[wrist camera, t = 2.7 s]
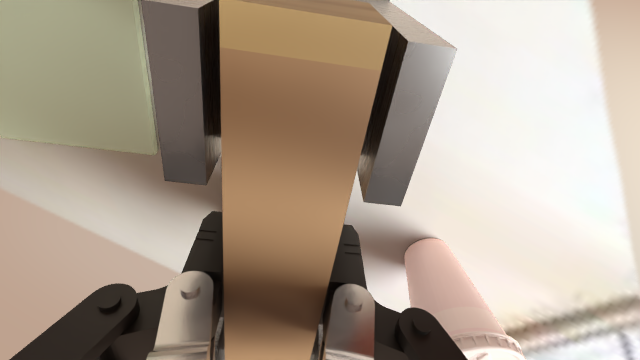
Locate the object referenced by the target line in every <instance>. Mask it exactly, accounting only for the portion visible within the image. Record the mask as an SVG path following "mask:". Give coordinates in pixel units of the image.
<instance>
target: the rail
mask: <svg viewBox="0 0 640 360" xmlns="http://www.w3.org/2000/svg"><path fill="white" fill-rule="evenodd" d="M219 26H220V88H221V149H222V211H223V273H224V335H225V360H310V357H311V353H312V349H313V345H314V341H315V337H316V333H317V329H318V325H319V321H320V317H321V313H322V309H323V305H324V300H325V296H326V292H327V288H328V284H329V280H330V276H331V272H332V268H333V264H334V260H335V256H336V252H337V248H338V244H339V240H340V236H341V232H342V228H343V224H344V220H345V215H346V211H347V207H348V203H349V199H350V195H351V191H352V187H353V183H354V179H355V175H356V171H357V167H358V163H359V159H360V155H361V151H362V147H363V143H364V139H365V134H366V130H367V126H368V122H369V118H370V114H371V110H372V106H373V102H374V98H375V94H376V90H377V86H378V82H379V78H380V74H381V70H382V66H383V62H384V58H385V54H386V49H387V45H388V41H389V37H390V33H391V29H392V25H391V24H390V23H389V22H388V21H387V20H386V19H385V18H384V17H383V16H382V15H381V14H380V13H379V12H378V11H377V10H376V9H375V8H374V7H373V6H372V5H371V4H370V3H367V2H361V1H355V0H219Z"/></svg>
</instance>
